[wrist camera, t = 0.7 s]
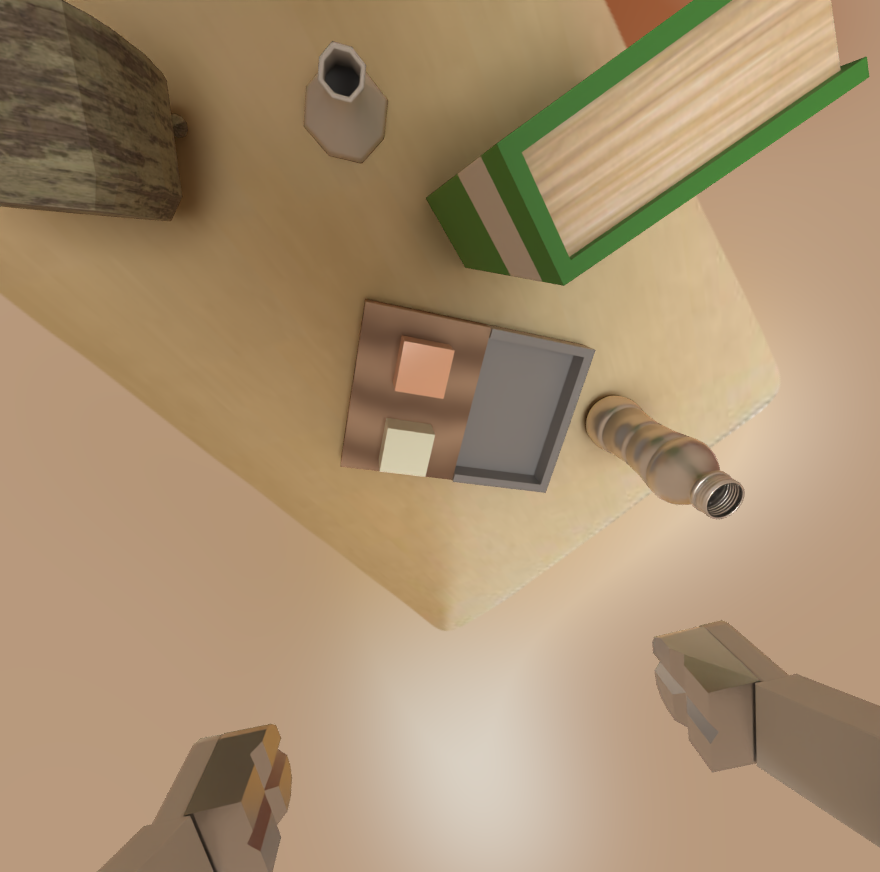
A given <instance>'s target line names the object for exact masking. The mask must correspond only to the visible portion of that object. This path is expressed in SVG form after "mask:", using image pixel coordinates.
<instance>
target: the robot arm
mask: <svg viewBox="0 0 880 872" xmlns="http://www.w3.org/2000/svg"><path fill="white" fill-rule="evenodd" d="M653 653H654V655H655V656H656V657H657V658H658V660H659V661H660V662H659V664H658V666H657V667H656V669H655V677H656V684H657V687H658V690H659V693H660V696H661V698H662V700H663V702H664V704H665V706H666V708H667V710H668V711H669V712H670V714H671V715H672V717H673V718H674V720H675V721H677V722H679V723H681V724H683V725H684V726H686V727H688V734H689V741H690V742H691V744H692V745H693V746H694V748H695V749H696V751H697V752H698V753H699V755H700V756H701V757H702V759H703V760H704V762H705V763H706V764H707V766H708V767H709V769H710V770H711V771H712V772H716V771H721V770H726V769H731V768H735V767H741V766H745V765H750V764H756V763H757V766H758V767H759V768H761V769H762V770H764V771H765V772H767V773H768V774H770V775H771V776H773V777H774V778H776V779H777V780H779V781H780V782H782V783H783V784H785V785H786V786H788V787H789V788H791V789H792V790H794V791H795V792H797V793H798V794H800V795H801V796H803V797H804V798H806V799H807V800H809V801H810V802H812V803H814V804H815V805H816V806H818V807H819V808H821V809H823V810H824V811H825V812H827V813H829V814H830V815H832V816H833V817H835V818H836V819H838V820H839V821H841V822H842V823H844V824H845V825H847V826H848V827H850V828H851V829H853V830H854V831H856V832H857V833H859V834H860V835H862V836H864V837H865V838H866V839H868V840H869V841H871V842H872V843H874V844H875V845H877V846H878V847H880V706H878V705H876V704H873V703H871V702H868V701H866V700H863V699H860V698H858V697H855V696H853V695H850V694H847V693H845V692H842V691H840V690H837V689H834V688H832V687H829V686H826V685H824V684H821V683H819V682H816V681H814V680H811V679H808V678H806V677H803V676H801V675H798V674H793V675H788V674H787V673H786V672H785V671H783V670H782V669H781V668H780V667H779V666H778V665H776V664H775V663H774V662H772V660H771V659H770V658H768V657H767V656H766V655H765V654H764V653H763V652H761V651H760V650H759V649H758V648H757V647H756V646H754V645H753V644H752V643H751V642H750V641H749V640H748V639H746V638H745V637H744V636H743V635H742V634H741V633H739V632H738V631H737V630H736V629H735V628H734V627H732V626H731V625H730V624H729V623H727V622H725V621H722V620H721V621H717V622H713V623H708V624H704V625H701V626H699V627H693V628H689V629H685V630H681V631H676V632H672V633H668V634H664V635H659V636H656V637H654V639H653ZM280 740H281V736H280V734H279V731H278V729H277V726H276V725H273V724H268V725H263V726H258V727H253V728H248V729H243V730H238V731H233V732H228V733H224V734H222V735H217V736H211V737H206V738H201V739H199V740H198V741H197V742H196V743H195V744H194V745H193V746H192V748H191V750H190V752H189V754H188V756H187V758H186V760H185V762H184V763H183V766H182V767H181V769H180V771H179V773H178V775H177V777H176V779H175V781H174V783H173V785H172V787H171V788H170V790H169V792H168V794H167V796H166V798H165V800H164V802H163V804H162V806H161V808H160V810H159V812H158V813H157V816H156V817H155V819H154V821H153V823H152V824H151V825H147V826H144V827H143V828H141V829H140V830H139V831H138V832H137V834H135V835H134V836H133V837H132V838H131V839H130V840H129V841H128V842H127V843H126V844H125V845H124V846H123V847H122V848H121V849H120V850H119V851H118V852H117V853H116V854H115V855H114V856H113V857H112V858H111V859H110V860H109V861H108V862H107V863H106V864H105V865H104V866H103V867H102V868H101V869H99V870H98V871H97V872H273V868H274V863H275V859H276V855H277V851H278V847H279V843H280V839H281V836H280V833H279V830H278V827H277V824H278V823H279V822H280V820H281V819H282V818H283V816H284V815H285V814H286V812H287V810H288V806H289V801H290V797H291V784H292V775H291V768H290V763H289V760H288V757H287V755H286V754H285V753H283V752H281V751H280V750H279V749H278V747H279V743H280Z"/></svg>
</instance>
